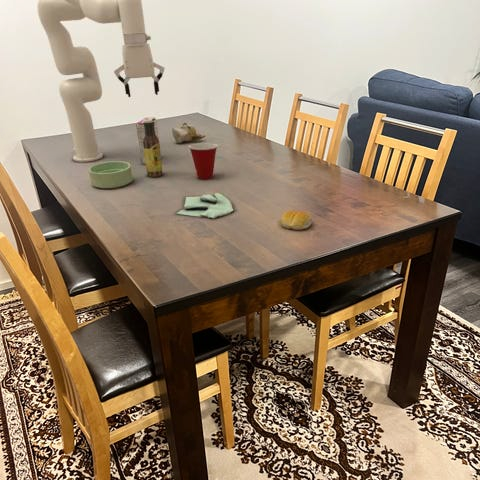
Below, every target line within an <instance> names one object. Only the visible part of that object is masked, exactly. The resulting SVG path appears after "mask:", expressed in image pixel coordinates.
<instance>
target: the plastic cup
mask: <svg viewBox="0 0 480 480" xmlns="http://www.w3.org/2000/svg"><path fill="white" fill-rule="evenodd" d="M218 146H219V145H218V144H216V143H210V142H209V143H206V142H205V143H203V142H202V143H195V144H194V143H193V144H189V145H188V148H189V150H190V155H191V157H192V160H193V165H194V169H195V172H196V176H197V178H198V179H199V180H211V179H212V178H213V177H214V172H215V171H214V170H215V163H216V153H217V148H218Z"/></svg>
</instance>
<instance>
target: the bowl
mask: <svg viewBox="0 0 480 480" xmlns="http://www.w3.org/2000/svg"><path fill="white" fill-rule="evenodd" d="M88 175H89V180H90V184H91V185H92V186H93V187H95V188H101V189H115V188H120V187H124V186H126V185H128V184H130V183H131V182H133V181H134V178H133V171H132V166H131V163H129V162H127V161H120V160H117V161H116V160H114V161H104V162H100V163H95V164H93V165H91V166H90V167H88Z"/></svg>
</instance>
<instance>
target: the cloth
mask: <svg viewBox="0 0 480 480" xmlns="http://www.w3.org/2000/svg"><path fill="white" fill-rule="evenodd" d="M183 207H184V208H182V209H181V210H179V211H178V212H176V214H177V215H182V216H183V215H184V216H189V217H196V218H211V219H212V220H214V219H216V218H220V217H222V216H227V215H229V214H231V213H232V212H234V211H235V210H234V209H233V205H232V202H231V201H230V199H228V198H227V197H226V196H224V194H221V193H219V192H215V193H214V196H213V195H211V194H206V193H204V194H202V195H200V196H186V197H185V201H184V205H183Z"/></svg>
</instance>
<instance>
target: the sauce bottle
mask: <svg viewBox="0 0 480 480" xmlns="http://www.w3.org/2000/svg"><path fill="white" fill-rule="evenodd" d="M143 125H144V128H145V137H144V139H143V146H144V155H145V163H146V164H145V169H146V175H147V176H148V177H150V178H151V177H152V178H155V177H157V178H158V177H160V176H162V175H163V172H164V171H163V162H162V151H161V143H160V138H159V139H158V138H157V136H156V135H155V129H154V125H155V124H154V121H144V122H143Z"/></svg>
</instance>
